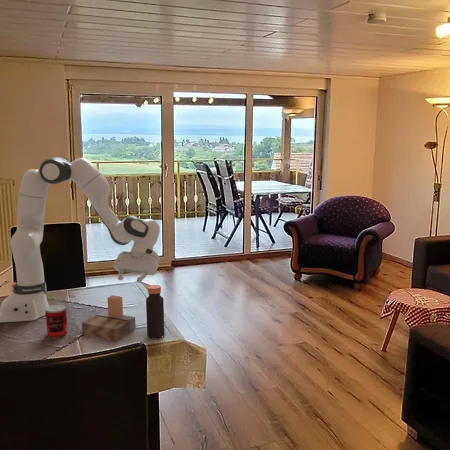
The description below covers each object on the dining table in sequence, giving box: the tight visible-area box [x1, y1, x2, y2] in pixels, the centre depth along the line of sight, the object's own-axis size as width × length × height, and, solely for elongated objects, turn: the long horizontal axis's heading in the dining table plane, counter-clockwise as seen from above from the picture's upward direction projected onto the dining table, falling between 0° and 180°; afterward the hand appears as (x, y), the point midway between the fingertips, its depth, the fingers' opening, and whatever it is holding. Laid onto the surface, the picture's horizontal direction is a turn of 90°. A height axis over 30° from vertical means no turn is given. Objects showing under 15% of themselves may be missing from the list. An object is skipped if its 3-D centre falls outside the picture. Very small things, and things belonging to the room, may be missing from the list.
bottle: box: [145, 284, 166, 339], centre depth 187 cm, size 7×7×20 cm
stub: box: [96, 295, 137, 333], centre depth 195 cm, size 16×4×13 cm, turn 67°
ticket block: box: [81, 314, 131, 342], centre depth 190 cm, size 16×9×5 cm, turn 67°
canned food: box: [45, 304, 68, 339], centre depth 189 cm, size 8×8×11 cm
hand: (129, 280), depth 203 cm, fingers open, 8 cm apart
